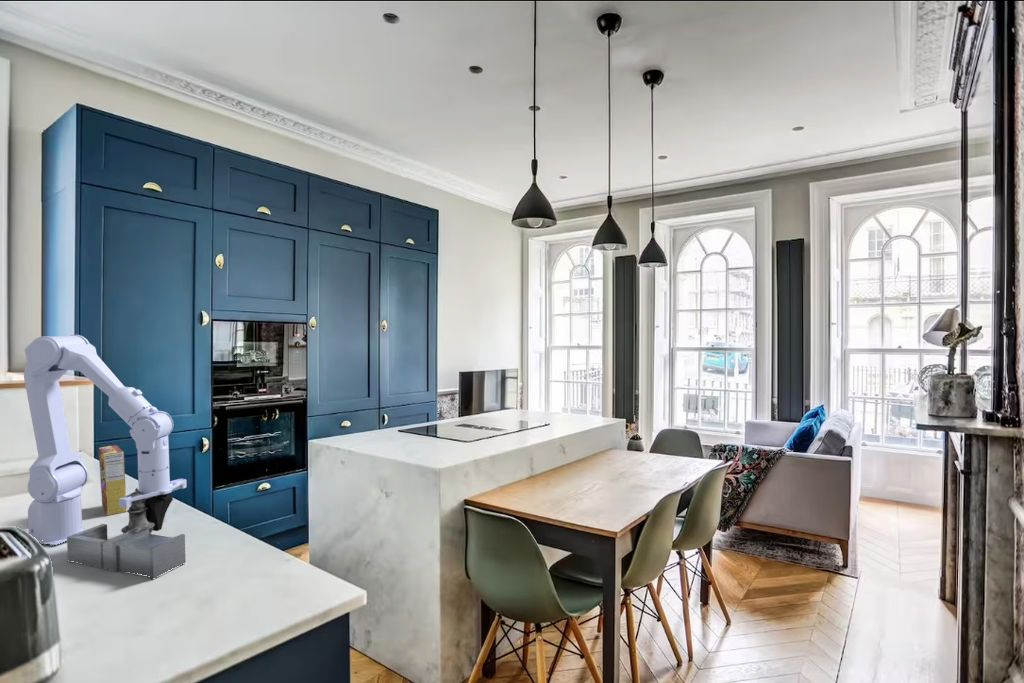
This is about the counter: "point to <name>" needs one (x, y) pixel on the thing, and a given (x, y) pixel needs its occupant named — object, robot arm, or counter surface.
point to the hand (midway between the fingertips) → (155, 529)
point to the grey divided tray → (127, 551)
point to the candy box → (112, 478)
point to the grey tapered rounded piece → (138, 515)
